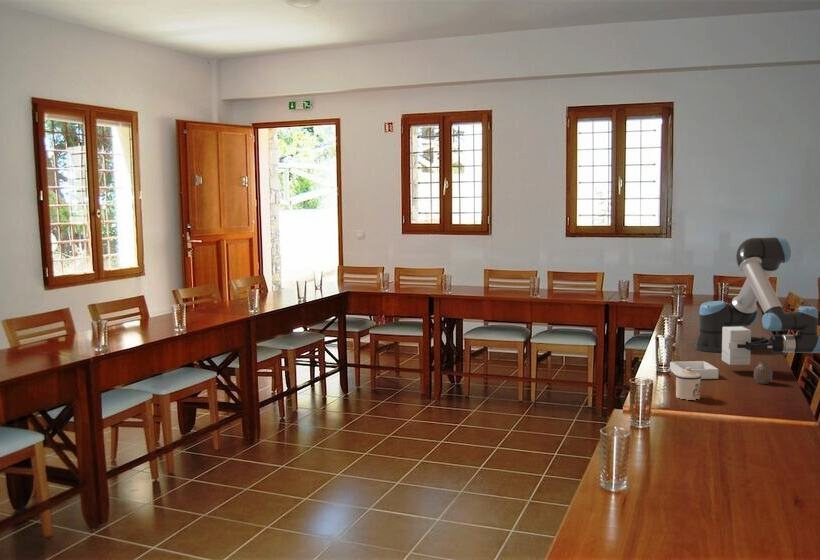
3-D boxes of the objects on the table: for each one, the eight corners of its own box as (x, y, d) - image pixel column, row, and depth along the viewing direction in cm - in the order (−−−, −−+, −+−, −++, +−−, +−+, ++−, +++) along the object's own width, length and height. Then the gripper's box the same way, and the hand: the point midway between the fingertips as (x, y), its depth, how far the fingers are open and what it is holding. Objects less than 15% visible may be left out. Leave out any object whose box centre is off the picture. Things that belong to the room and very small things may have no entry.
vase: (768, 380, 302) (769, 359, 301) (775, 385, 295) (775, 363, 294) (750, 380, 302) (751, 359, 301) (757, 385, 295) (757, 363, 294)
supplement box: (751, 364, 312) (752, 330, 310) (729, 365, 312) (730, 330, 311) (741, 359, 321) (742, 326, 319) (721, 360, 322) (721, 326, 320)
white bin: (669, 370, 322) (669, 361, 322) (704, 370, 322) (704, 361, 322) (681, 379, 307) (681, 369, 307) (718, 378, 307) (718, 369, 307)
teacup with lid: (697, 402, 274) (698, 371, 273) (672, 399, 279) (672, 368, 278) (705, 394, 284) (705, 364, 282) (680, 391, 289) (680, 362, 287)
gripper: (789, 358, 302) (731, 357, 306) (773, 346, 324) (719, 345, 328) (790, 340, 301) (732, 339, 305) (774, 329, 323) (720, 329, 327)
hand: (725, 342), depth 317 cm, fingers closed on supplement box, 10 cm apart
